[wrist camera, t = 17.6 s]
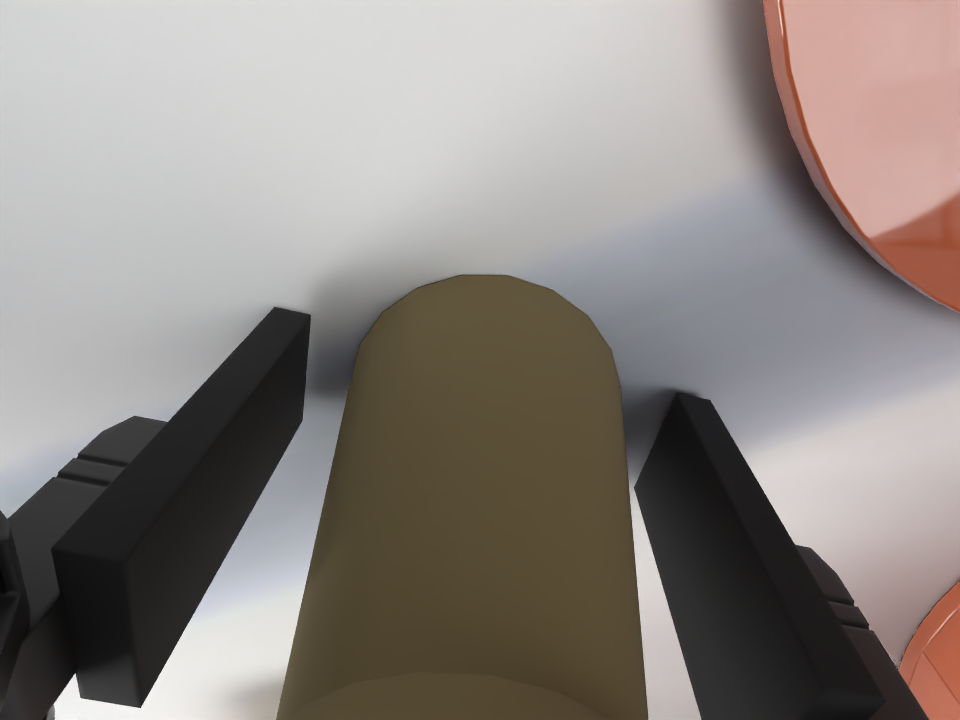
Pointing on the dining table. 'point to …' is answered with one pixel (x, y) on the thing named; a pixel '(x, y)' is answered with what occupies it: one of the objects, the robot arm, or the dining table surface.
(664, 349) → the dining table surface
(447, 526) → the olive pawn figure
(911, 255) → the lid
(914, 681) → the pot
